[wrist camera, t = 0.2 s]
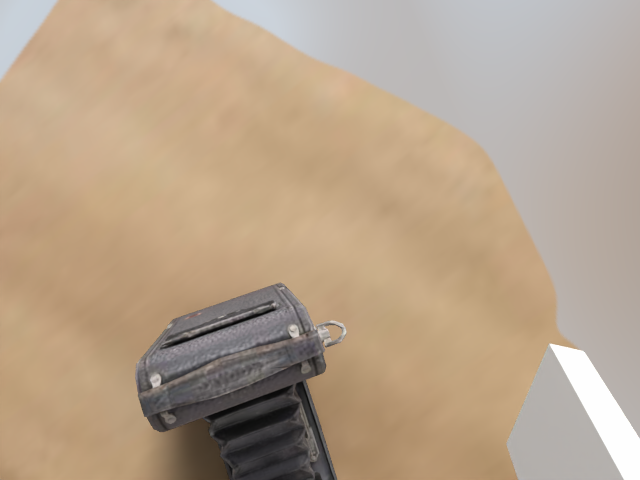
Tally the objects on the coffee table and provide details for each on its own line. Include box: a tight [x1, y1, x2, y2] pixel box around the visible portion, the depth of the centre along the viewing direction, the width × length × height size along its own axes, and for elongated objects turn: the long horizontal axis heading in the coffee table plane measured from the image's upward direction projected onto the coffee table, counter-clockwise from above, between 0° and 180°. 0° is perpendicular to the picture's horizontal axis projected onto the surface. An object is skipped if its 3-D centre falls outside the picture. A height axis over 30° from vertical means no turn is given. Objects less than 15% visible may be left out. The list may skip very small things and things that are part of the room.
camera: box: [135, 283, 346, 480], centre depth 39 cm, size 11×17×20 cm, turn 18°
